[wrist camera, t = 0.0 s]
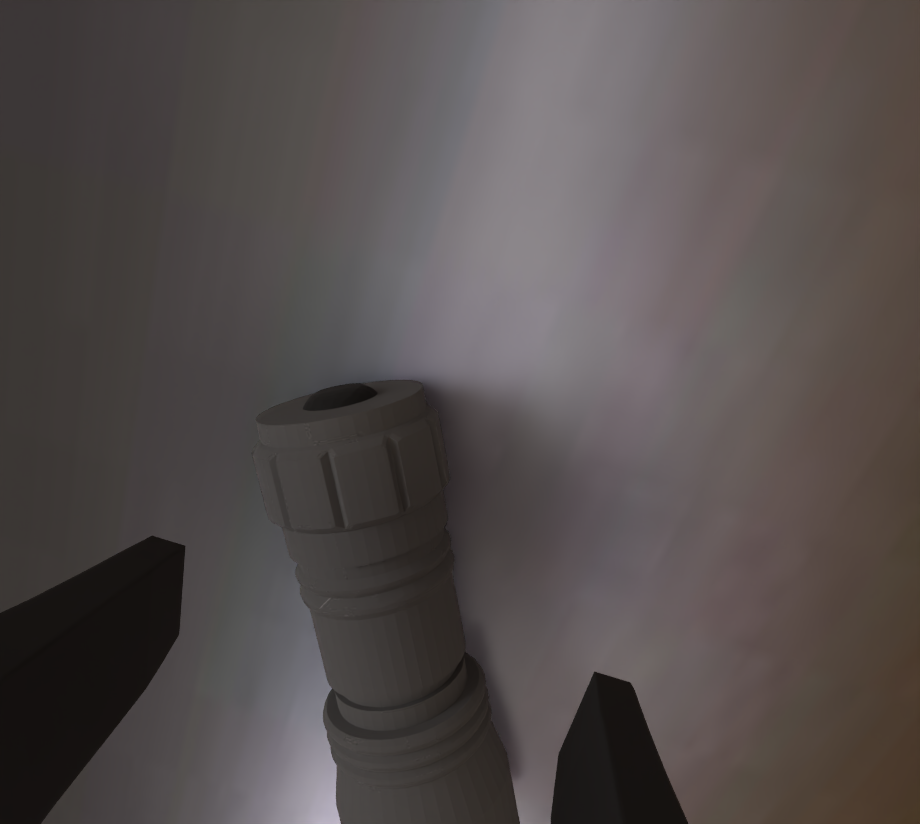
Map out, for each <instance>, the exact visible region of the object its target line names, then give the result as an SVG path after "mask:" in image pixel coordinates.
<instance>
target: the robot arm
mask: <svg viewBox="0 0 920 824" xmlns="http://www.w3.org/2000/svg"><path fill="white" fill-rule="evenodd" d="M184 557H185V546H184V545H181V544H177V543H174V542H171V541H168V540H164V539H161V538H158V537H154V536H151V537H149V538H147V539H145V540H143V541H141V542H139V543H137V544H135V545H133V546H131V547H129V548H127V549H125V550H124V551H122V552H120V553H118V554H116V555H114V556H112V557H110V558H108V559H107V560H105V561H103V562H101V563H99V564H97V565H95V566H93V567H91V568H90V569H88V570H86V571H84V572H82V573H80V574H78V575H76V576H74V577H72V578H71V579H69V580H67V581H65V582H63V583H61V584H59V585H57V586H55V587H53V588H51V589H49V590H47V591H45V592H43V593H41V594H39V595H37V596H35V597H33V598H31V599H29V600H27V601H25V602H23V603H21V604H19V605H17V606H15V607H12V608H10V609H8V610H6V611H4V612H2V613H0V824H41V823H42V821H43V820H44V819H45V817H46V816H47V815H48V813H49V812H50V810H51V809H52V808H53V806H54V805H55V804H56V802H57V801H58V800H59V799H60V797H61V796H62V795H63V794H64V792H65V791H66V790H67V789H68V787H69V786H70V785H71V783H72V782H73V781H74V780H75V778H76V777H77V776H78V775H79V773H80V772H81V771H82V770H83V768H84V767H85V766H86V764H87V763H88V762H89V761H90V759H91V758H92V757H93V756H94V754H95V753H96V752H97V751H98V749H99V748H100V747H101V746H102V744H103V743H104V742H105V740H106V739H107V738H108V737H109V735H110V734H111V733H112V732H113V730H114V729H115V728H116V726H117V725H118V724H119V723H120V721H121V720H122V719H123V717H124V716H125V715H126V714H127V712H128V711H129V710H130V708H131V707H132V706H133V705H134V703H135V702H136V701H137V699H138V698H139V697H140V696H141V694H142V693H143V692H144V690H145V689H146V688H147V686H148V685H149V683H150V681H151V680H152V678H153V677H154V675H155V673H156V672H157V670H158V669H159V667H160V665H161V664H162V662H163V661H164V659H165V657H166V655H167V654H168V652H169V650H170V649H171V647H172V645H173V644H174V642H175V640H176V639H177V637H178V635H179V629H180V615H181V600H182V586H183V572H184ZM551 824H688V822H687V820H686V817H685V815H684V813H683V810H682V808H681V806H680V804H679V801H678V799H677V797H676V795H675V792H674V790H673V788H672V785H671V783H670V781H669V778H668V776H667V774H666V771H665V769H664V766H663V764H662V762H661V759H660V757H659V754H658V751H657V749H656V746H655V744H654V741H653V739H652V736H651V734H650V731H649V728H648V726H647V723H646V720H645V718H644V715H643V712H642V709H641V707H640V704H639V701H638V698H637V696H636V693H635V690H634V688H633V686H632V685H631V683H630V682H627V681H623V680H620V679H617V678H614V677H610V676H607V675H604V674H601V673H597V672H594V674H593V676H592V678H591V681H590V683H589V685H588V687H587V690H586V692H585V694H584V697H583V699H582V701H581V704H580V706H579V708H578V710H577V713H576V715H575V717H574V720H573V722H572V724H571V727H570V729H569V731H568V734H567V736H566V738H565V740H564V743H563V745H562V747H561V750H560V752H559V755H558V763H557V771H556V779H555V787H554V795H553V804H552V813H551Z"/></svg>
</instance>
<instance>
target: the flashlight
mask: <svg viewBox="0 0 920 824" xmlns="http://www.w3.org/2000/svg"><path fill="white" fill-rule="evenodd" d="M256 423H257V428H258V432H259V436H260V440H259V441H258V443H257V444H256V446H255V447H254V449H253V450H252V456H253V460H254V464H255V468H256V472H257V476H258V480H259V484H260V488H261V492H262V496H263V500H264V504H265V508H266V512H267V515H268V518H269V520H270V521H271V522H273V523H274V524H276V525H278V526H280V527H282V528H283V532H284V536H285V540H286V544H287V548H288V552H289V555H290V558H291V559H292V560H293V561H294V562H296V563H298V565H297V567H296V571H295V575H296V578H297V580H298V581H299V583H300V585H301V586H300V595H301V597H302V599H303V601H304V603H305V604H306V605H307V606H308V607H309V608H310V612H311V616H312V620H313V624H314V628H315V632H316V636H317V640H318V644H319V648H320V652H321V656H322V660H323V664H324V668H325V672H326V677H327V680H328V683H329V685H330V686H331V687H332V690H331V691H330V693H329V695H328V697H327V699H326V701H325V706H324V710H323V722H324V725H325V728H326V730H327V738H328V741H329V744H330V746H331V753H332V757H333V760H334V761H335V763H336V764H337V781H336V804H337V809H338V813H339V817H340V821H341V824H520V821H519V817H518V811H517V806H516V800H515V795H514V789H513V784H512V779H511V773H510V768H509V762H508V757H507V752H506V750H505V748H504V745H503V743H502V741H501V739H500V737H499V735H498V733H497V731H496V729H495V727H494V725H493V723H492V721H491V714H492V711H491V705H490V702H489V696H488V690H487V687H486V680H485V674H484V672H483V670H482V668H481V666H480V665H479V664H478V662H477V661H476V660H475V659H474V658H473V657H472V656H470V655H469V654H467V653H466V652H465V647H466V644H465V638H464V632H463V627H462V622H461V617H460V612H459V606H458V601H457V596H456V591H455V585H454V580H453V575H452V571H453V567H454V554H453V552H452V550H451V548H450V545H451V537H450V534H449V532H448V531H447V530H446V529H445V528H444V527H445V525H446V523H447V520H448V515H447V510H446V504H445V499H444V494H443V489H444V488H445V487H446V485H447V484H448V482H449V480H450V473H449V468H448V462H447V457H446V452H445V447H444V441H443V436H442V431H441V425H440V420H439V415H438V412H437V410H435V409H434V408H433V407H432V406H430V405H429V404H427V403H426V400H425V395H424V390H423V385H422V383H420V382H418V381H413V380H387V381H377V382H370V383H363V384H361V383H356V384H345V385H339V386H334V387H330V388H326V389H323V390H320V391H318V392H316V393H314V394H310V395H307V396H303V397H300V398H297V399H294V400H291V401H288V402H285V403H282V404H279V405H276V406H274V407H272V408H270V409H268V410H266V411H264V412H262V413H261V414H259V415H258V416H257V418H256Z"/></svg>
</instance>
